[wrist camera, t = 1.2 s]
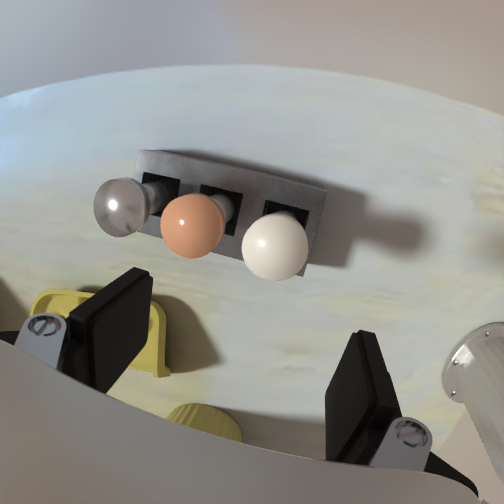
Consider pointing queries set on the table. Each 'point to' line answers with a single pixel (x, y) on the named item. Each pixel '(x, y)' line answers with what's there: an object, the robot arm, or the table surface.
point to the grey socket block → (233, 179)
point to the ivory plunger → (275, 246)
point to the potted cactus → (207, 420)
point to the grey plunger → (129, 204)
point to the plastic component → (154, 349)
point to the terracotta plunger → (196, 223)
